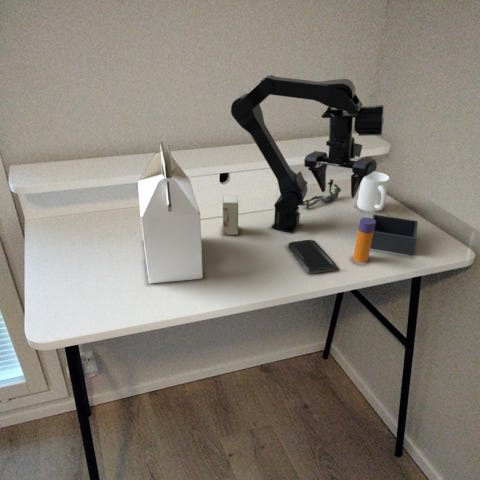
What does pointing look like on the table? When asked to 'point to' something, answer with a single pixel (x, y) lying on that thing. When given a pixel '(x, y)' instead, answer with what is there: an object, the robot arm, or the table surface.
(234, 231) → the cosmetics bottle
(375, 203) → the mug
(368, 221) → the glue stick
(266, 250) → the table surface
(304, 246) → the phone
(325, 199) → the zombie figurine
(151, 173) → the gable box
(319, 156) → the robot arm
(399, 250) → the organizer
